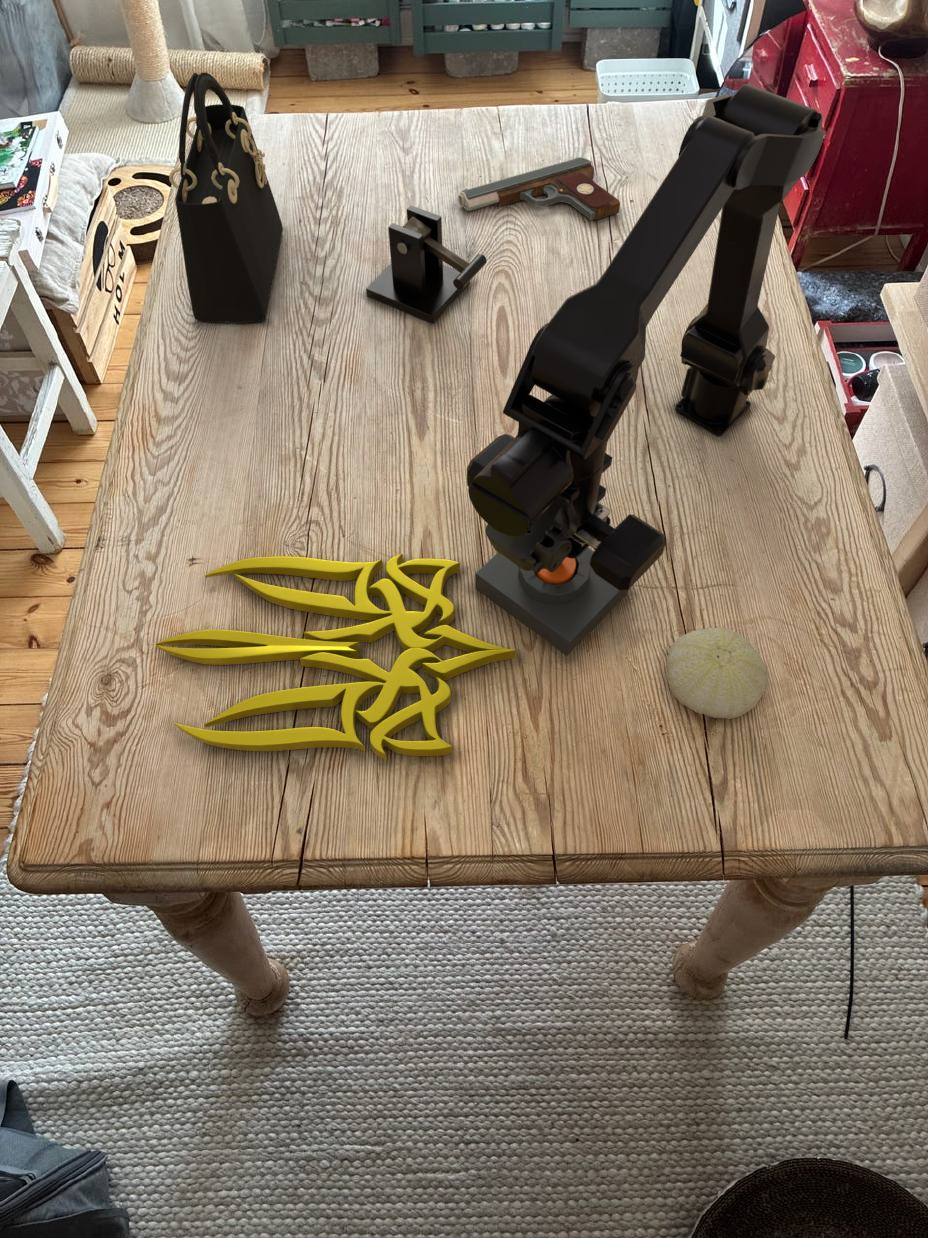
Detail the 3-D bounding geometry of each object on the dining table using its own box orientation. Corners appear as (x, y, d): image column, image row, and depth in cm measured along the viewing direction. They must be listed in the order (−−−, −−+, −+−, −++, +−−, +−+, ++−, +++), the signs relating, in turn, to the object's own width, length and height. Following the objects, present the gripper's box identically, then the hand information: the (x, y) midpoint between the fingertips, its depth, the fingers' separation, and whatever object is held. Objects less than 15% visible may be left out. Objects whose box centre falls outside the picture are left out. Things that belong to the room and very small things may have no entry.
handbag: (265, 329, 116) (220, 134, 94) (192, 328, 116) (131, 133, 94) (285, 225, 126) (249, 29, 105) (219, 225, 127) (169, 28, 105)
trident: (515, 757, 83) (128, 747, 84) (514, 764, 85) (133, 754, 86) (516, 555, 95) (176, 548, 96) (515, 564, 97) (180, 557, 97)
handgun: (494, 252, 123) (456, 202, 129) (623, 213, 127) (581, 166, 133) (494, 238, 121) (456, 187, 127) (625, 199, 126) (582, 151, 131)
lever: (484, 269, 115) (489, 254, 112) (460, 294, 112) (465, 280, 110) (416, 223, 115) (420, 208, 113) (391, 248, 113) (395, 233, 110)
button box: (628, 592, 95) (635, 566, 91) (567, 656, 91) (571, 632, 87) (537, 529, 99) (540, 502, 95) (475, 588, 95) (475, 562, 91)
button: (582, 571, 92) (584, 561, 91) (557, 597, 91) (558, 586, 89) (551, 550, 94) (552, 539, 92) (525, 574, 92) (526, 564, 91)
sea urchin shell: (745, 739, 84) (703, 676, 81) (680, 732, 91) (638, 673, 88) (792, 668, 88) (753, 605, 85) (725, 665, 94) (687, 607, 91)
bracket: (470, 282, 120) (470, 214, 112) (432, 323, 116) (430, 256, 108) (405, 257, 123) (400, 188, 115) (366, 296, 119) (358, 228, 110)
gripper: (422, 452, 78) (429, 561, 91) (600, 575, 71) (580, 672, 84) (508, 381, 82) (503, 494, 95) (684, 490, 76) (652, 596, 89)
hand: (555, 562), depth 91 cm, fingers closed, pressing on button
